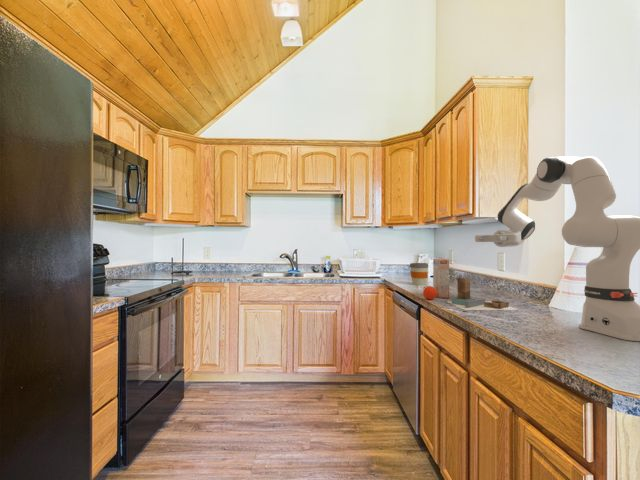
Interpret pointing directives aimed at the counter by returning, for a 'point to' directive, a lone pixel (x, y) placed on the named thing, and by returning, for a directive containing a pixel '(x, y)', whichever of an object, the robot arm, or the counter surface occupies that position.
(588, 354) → the counter surface
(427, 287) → the clementine
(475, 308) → the jamb board
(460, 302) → the index socket
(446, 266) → the cracker box
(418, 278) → the reusable coffee cup
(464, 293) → the stop bar
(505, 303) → the keeper
